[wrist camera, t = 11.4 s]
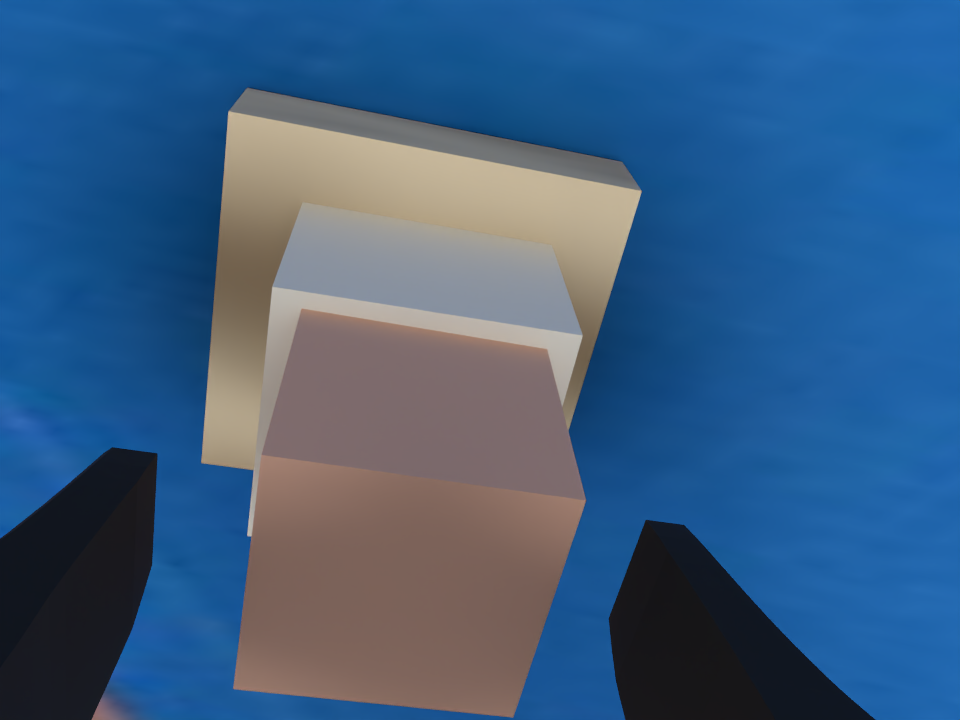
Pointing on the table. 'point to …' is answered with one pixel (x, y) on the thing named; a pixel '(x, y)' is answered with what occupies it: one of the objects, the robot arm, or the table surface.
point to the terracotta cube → (407, 519)
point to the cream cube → (415, 290)
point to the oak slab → (399, 194)
